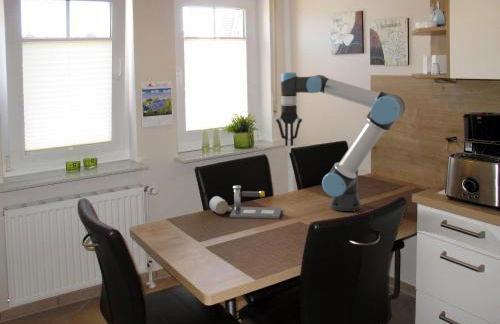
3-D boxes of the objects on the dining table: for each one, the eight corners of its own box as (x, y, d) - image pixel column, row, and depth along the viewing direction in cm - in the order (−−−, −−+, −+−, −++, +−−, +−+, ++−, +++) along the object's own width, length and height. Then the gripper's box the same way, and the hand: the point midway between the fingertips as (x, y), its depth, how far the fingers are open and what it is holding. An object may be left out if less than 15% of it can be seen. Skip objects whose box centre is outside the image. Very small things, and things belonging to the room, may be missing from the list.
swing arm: (241, 196, 259) (241, 192, 259) (242, 195, 262) (242, 190, 261) (264, 197, 258) (264, 192, 257) (264, 195, 260) (264, 191, 260)
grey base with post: (281, 210, 262) (281, 185, 260) (279, 218, 249) (278, 192, 246) (234, 209, 266) (234, 184, 263) (229, 217, 252) (229, 192, 250)
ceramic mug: (216, 215, 255) (216, 200, 254) (209, 211, 262) (208, 197, 261) (235, 212, 260) (235, 197, 259) (227, 208, 267) (227, 194, 266)
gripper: (302, 103, 255) (302, 150, 260) (276, 104, 257) (276, 150, 262) (302, 105, 248) (302, 153, 253) (274, 105, 250) (275, 153, 255)
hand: (289, 152), depth 257 cm, fingers closed
